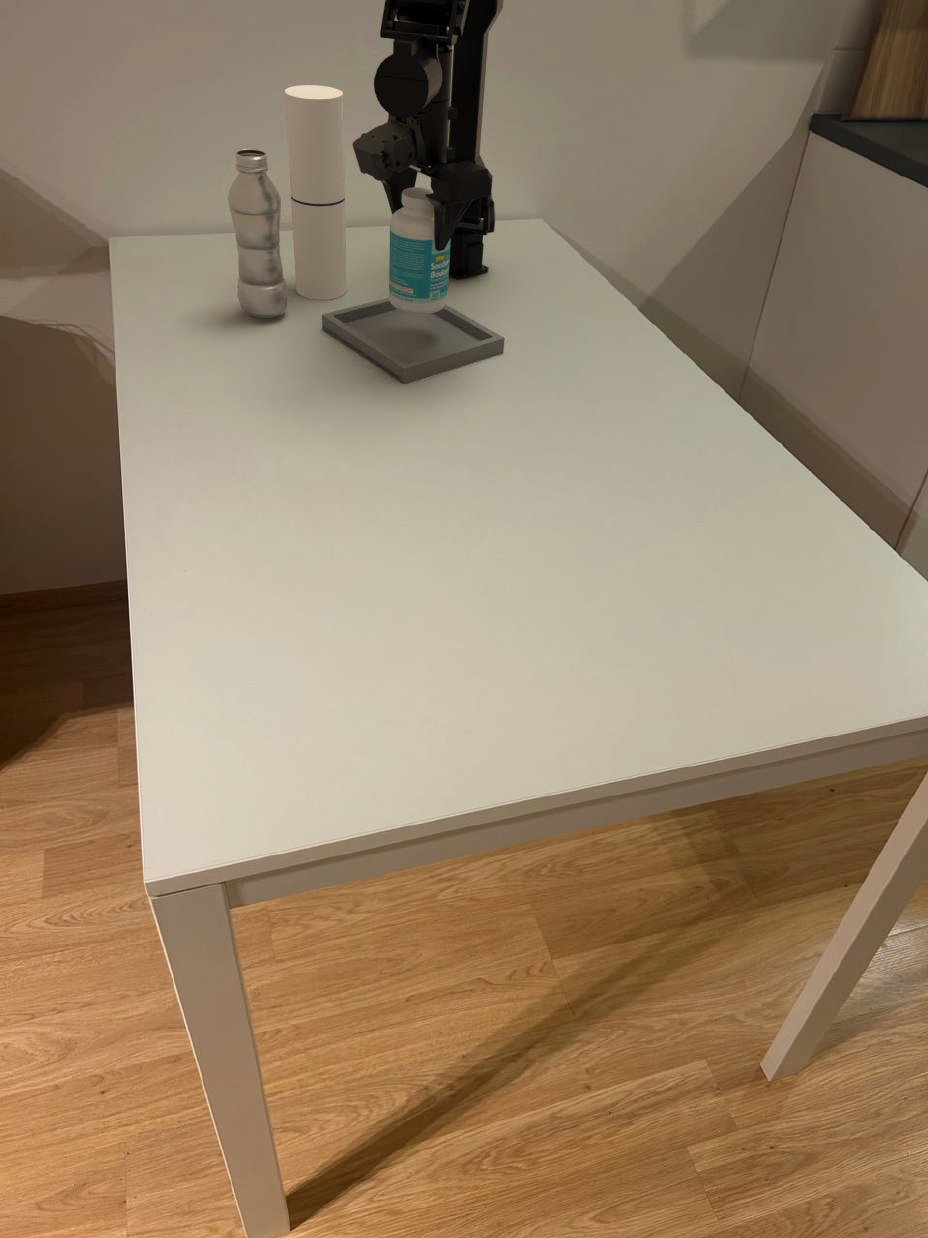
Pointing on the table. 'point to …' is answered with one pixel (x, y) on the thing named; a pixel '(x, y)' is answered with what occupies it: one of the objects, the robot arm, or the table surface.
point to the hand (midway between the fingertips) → (420, 239)
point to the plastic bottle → (257, 236)
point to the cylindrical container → (317, 189)
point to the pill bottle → (417, 257)
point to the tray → (412, 338)
